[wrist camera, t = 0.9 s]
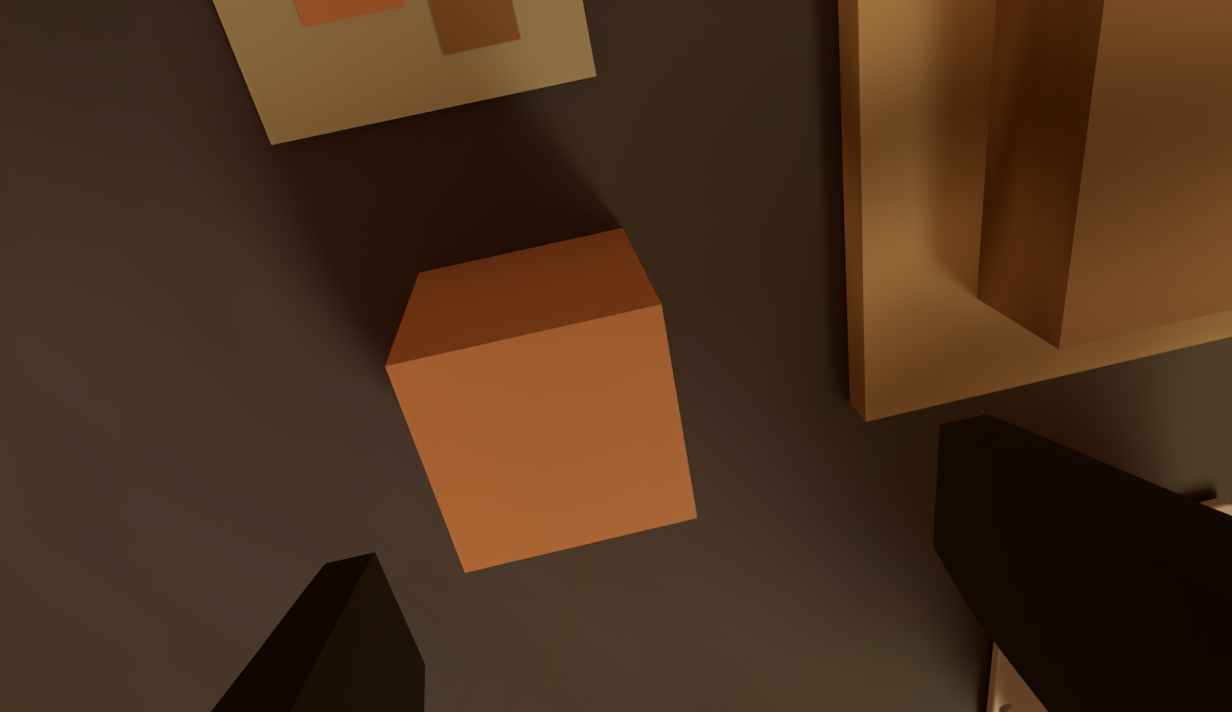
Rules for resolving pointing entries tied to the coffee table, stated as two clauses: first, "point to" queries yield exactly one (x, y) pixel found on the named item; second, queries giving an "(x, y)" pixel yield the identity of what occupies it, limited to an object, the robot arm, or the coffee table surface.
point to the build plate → (937, 218)
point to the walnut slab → (1108, 166)
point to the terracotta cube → (543, 399)
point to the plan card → (396, 56)
